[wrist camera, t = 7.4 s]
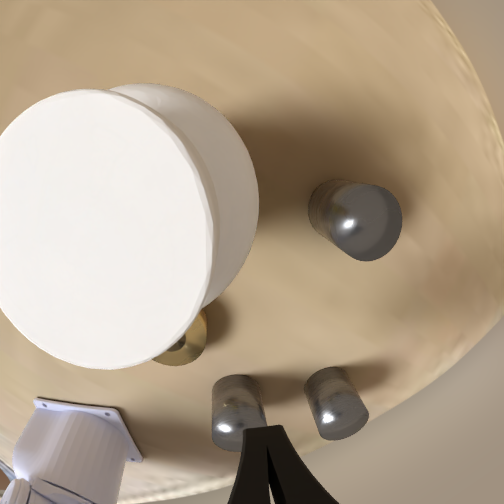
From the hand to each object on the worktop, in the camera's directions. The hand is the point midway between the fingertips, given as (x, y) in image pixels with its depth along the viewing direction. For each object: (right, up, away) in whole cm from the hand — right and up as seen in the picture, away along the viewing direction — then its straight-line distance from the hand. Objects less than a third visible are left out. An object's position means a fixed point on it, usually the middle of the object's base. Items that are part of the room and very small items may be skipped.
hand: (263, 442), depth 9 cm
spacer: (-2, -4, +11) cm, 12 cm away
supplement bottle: (-4, +11, +7) cm, 14 cm away
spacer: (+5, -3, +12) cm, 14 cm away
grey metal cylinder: (+5, +9, +8) cm, 13 cm away
